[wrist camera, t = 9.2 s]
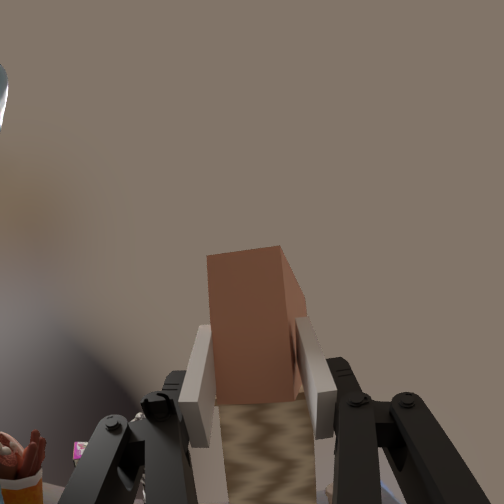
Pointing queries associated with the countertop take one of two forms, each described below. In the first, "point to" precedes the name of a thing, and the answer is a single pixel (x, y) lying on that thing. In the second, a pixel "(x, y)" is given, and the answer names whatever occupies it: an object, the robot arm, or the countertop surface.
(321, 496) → the countertop surface
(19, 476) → the bucket of meat
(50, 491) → the countertop surface
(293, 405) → the stand
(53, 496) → the countertop surface
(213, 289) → the block
